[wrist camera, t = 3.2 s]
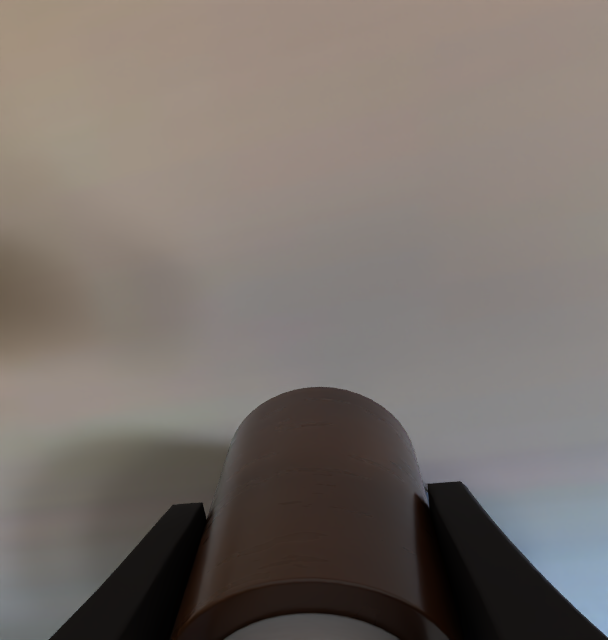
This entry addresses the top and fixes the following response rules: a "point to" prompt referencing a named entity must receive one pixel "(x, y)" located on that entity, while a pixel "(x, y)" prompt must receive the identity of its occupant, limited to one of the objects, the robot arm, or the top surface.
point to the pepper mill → (319, 531)
